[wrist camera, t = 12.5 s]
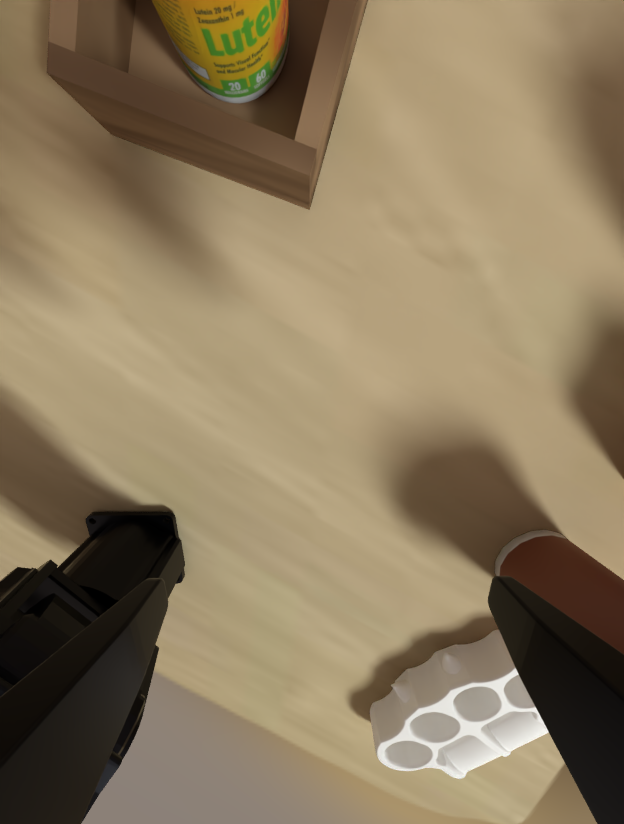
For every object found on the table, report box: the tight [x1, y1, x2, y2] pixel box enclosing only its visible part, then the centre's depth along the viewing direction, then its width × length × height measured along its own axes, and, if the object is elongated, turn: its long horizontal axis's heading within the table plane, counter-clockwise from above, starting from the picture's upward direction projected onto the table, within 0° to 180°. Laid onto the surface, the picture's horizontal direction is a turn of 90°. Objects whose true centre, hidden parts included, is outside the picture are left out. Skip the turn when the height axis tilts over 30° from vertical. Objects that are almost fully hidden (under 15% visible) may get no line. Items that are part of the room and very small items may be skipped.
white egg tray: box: [370, 630, 549, 779], centre depth 28 cm, size 3×18×15 cm
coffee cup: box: [495, 530, 624, 654], centre depth 18 cm, size 9×9×12 cm
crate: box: [47, 0, 368, 210], centre depth 13 cm, size 11×11×4 cm
